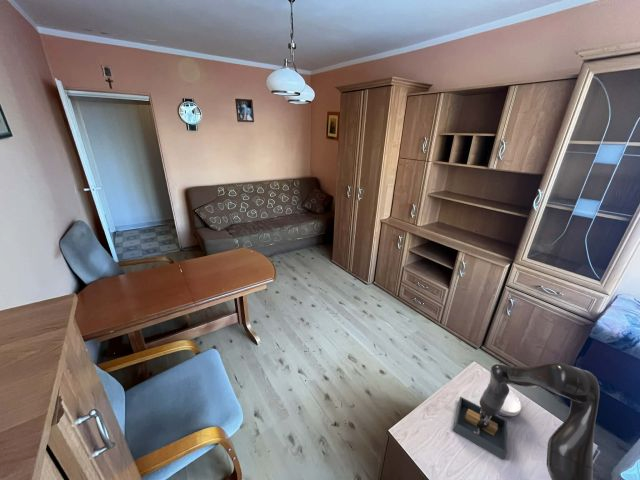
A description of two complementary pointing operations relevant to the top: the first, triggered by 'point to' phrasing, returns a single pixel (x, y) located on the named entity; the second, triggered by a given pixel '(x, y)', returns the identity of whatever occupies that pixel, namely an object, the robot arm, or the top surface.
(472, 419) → the wooden block
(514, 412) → the bowl
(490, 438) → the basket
